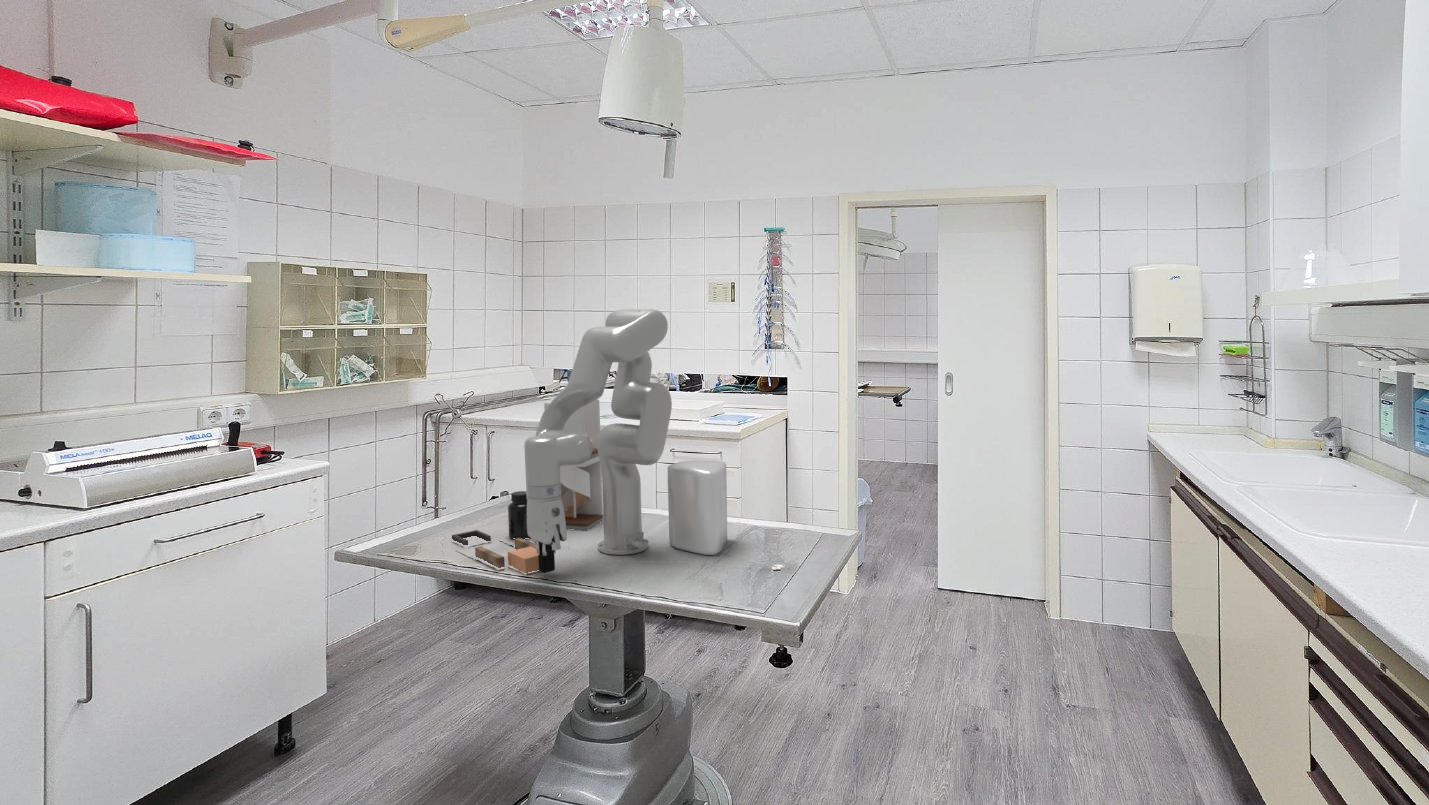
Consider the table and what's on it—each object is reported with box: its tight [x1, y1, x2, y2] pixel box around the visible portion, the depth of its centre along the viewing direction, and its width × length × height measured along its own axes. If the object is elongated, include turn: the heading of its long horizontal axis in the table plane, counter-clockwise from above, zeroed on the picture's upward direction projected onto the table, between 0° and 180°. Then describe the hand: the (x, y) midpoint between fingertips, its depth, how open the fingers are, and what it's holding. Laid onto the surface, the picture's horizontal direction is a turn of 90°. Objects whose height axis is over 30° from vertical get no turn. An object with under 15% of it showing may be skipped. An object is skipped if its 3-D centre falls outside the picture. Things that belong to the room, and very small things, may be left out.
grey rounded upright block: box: [667, 459, 728, 556], centre depth 198 cm, size 15×14×22 cm
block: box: [507, 546, 539, 573], centre depth 184 cm, size 8×6×4 cm
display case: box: [543, 399, 604, 532], centre depth 220 cm, size 11×11×35 cm
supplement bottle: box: [507, 490, 531, 539], centre depth 210 cm, size 7×7×12 cm
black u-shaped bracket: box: [451, 529, 492, 545], centre depth 207 cm, size 8×7×2 cm
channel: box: [474, 538, 537, 568], centre depth 191 cm, size 12×12×3 cm
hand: (547, 570), depth 178 cm, fingers closed
